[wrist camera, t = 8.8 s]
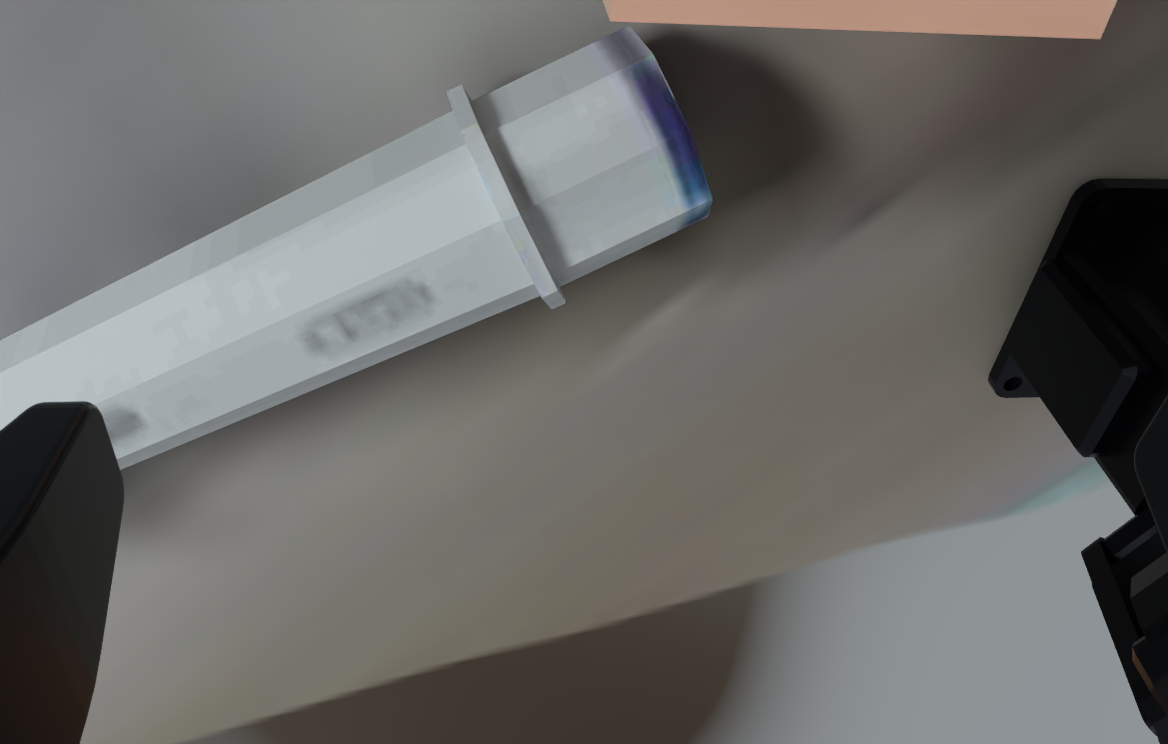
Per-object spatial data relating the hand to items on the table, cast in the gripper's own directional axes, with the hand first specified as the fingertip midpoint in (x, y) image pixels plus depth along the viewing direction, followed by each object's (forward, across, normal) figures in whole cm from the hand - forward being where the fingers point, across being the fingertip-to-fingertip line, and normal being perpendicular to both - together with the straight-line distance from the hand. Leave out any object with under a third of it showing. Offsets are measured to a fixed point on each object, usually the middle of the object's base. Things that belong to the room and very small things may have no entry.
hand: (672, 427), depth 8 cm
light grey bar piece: (+14, +9, +8) cm, 18 cm away
